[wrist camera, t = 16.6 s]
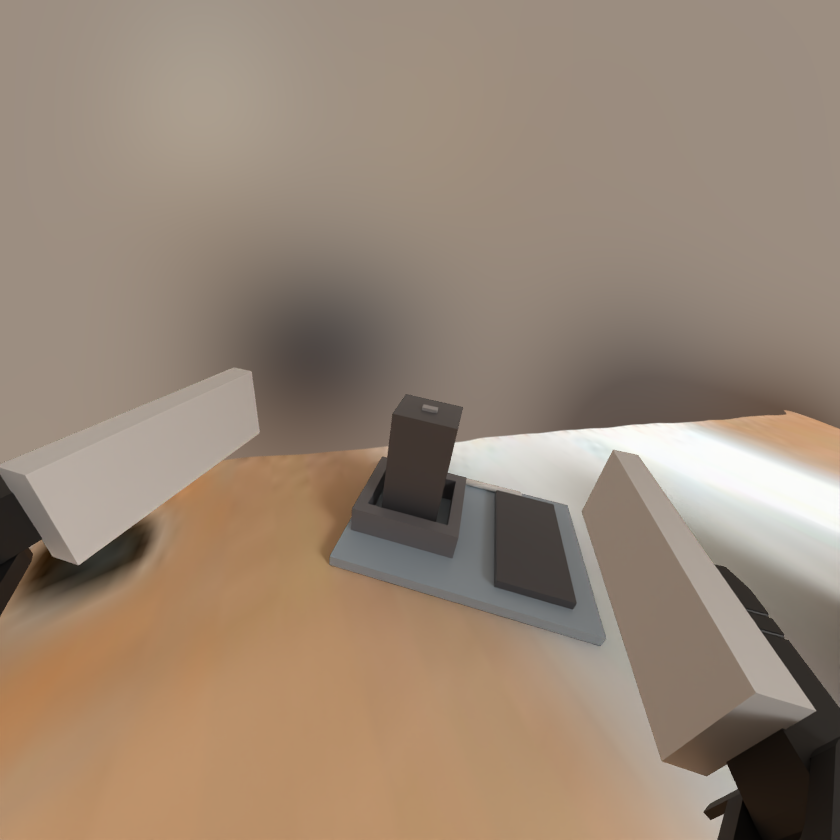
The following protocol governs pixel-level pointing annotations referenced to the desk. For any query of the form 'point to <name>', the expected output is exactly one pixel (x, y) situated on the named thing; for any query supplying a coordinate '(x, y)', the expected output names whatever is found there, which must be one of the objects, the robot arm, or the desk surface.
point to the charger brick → (419, 455)
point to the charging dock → (478, 554)
